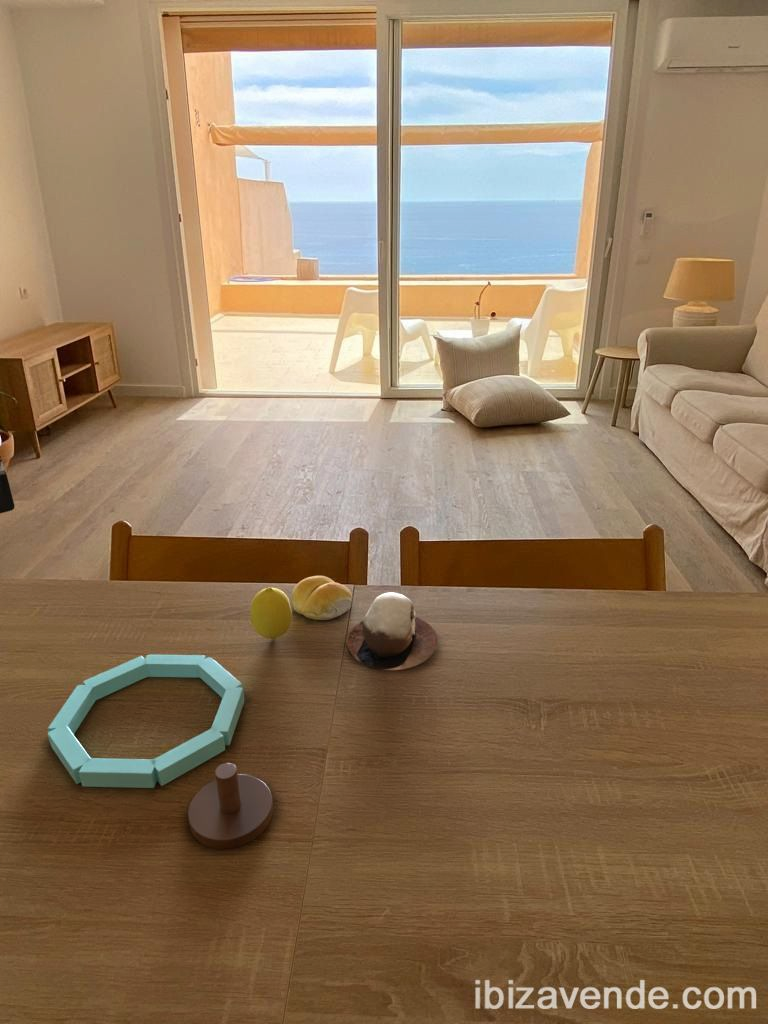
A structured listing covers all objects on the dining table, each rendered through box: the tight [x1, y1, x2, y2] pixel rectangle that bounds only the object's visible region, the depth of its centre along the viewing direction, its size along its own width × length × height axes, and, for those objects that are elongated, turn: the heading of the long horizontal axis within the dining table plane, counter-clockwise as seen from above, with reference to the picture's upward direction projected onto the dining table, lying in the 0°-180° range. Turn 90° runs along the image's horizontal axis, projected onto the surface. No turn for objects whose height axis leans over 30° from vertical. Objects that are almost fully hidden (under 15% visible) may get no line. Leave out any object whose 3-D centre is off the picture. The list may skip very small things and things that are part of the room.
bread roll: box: [290, 575, 353, 621], centre depth 101 cm, size 8×9×4 cm
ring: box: [47, 654, 245, 789], centre depth 80 cm, size 20×20×2 cm
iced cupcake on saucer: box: [347, 591, 438, 671], centre depth 93 cm, size 12×10×10 cm
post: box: [187, 762, 274, 850], centre depth 66 cm, size 8×8×6 cm
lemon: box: [249, 586, 293, 640], centre depth 93 cm, size 6×6×8 cm
